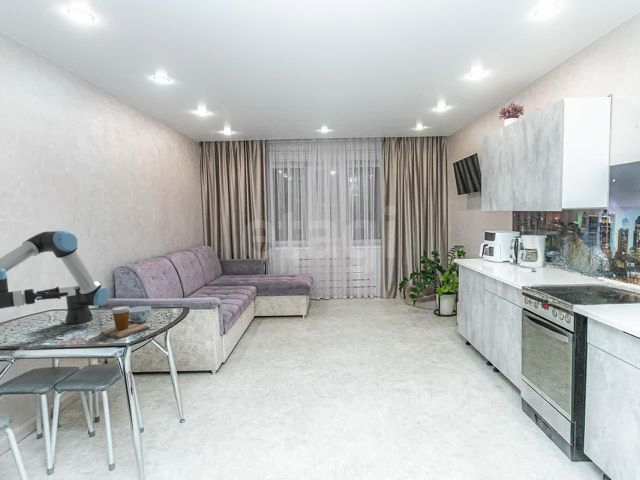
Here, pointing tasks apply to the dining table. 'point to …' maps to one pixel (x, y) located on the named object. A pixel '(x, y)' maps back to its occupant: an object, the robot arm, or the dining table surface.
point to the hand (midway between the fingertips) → (74, 290)
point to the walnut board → (125, 331)
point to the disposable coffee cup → (121, 317)
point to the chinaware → (139, 313)
